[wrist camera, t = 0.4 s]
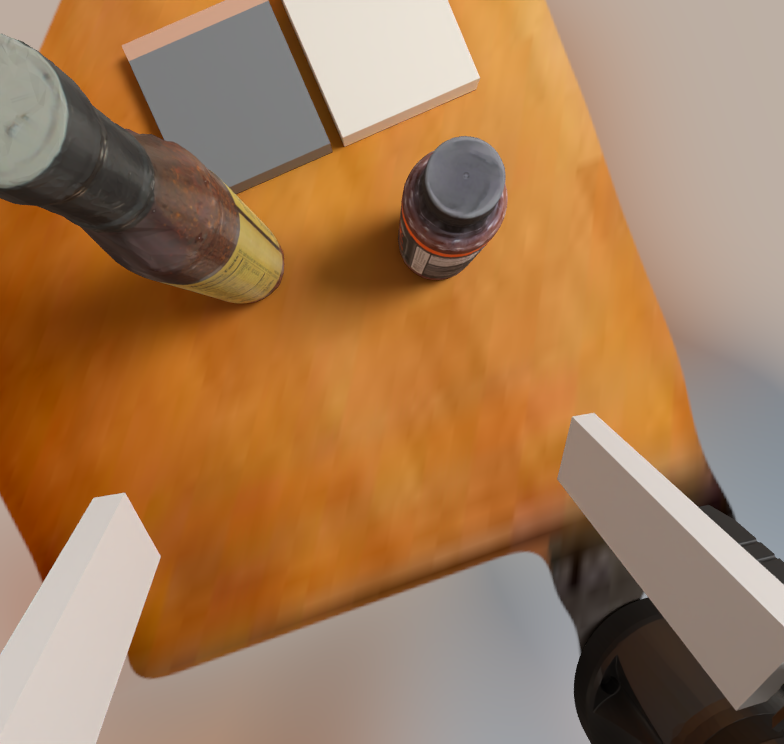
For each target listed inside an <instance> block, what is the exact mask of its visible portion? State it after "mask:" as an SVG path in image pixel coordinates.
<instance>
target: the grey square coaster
mask: <svg viewBox="0 0 784 744" xmlns="http://www.w3.org/2000/svg"><path fill="white" fill-rule="evenodd" d="M122 48H123V50H124V52H125V54H126V56H127V59H128V61H129V63H130V65H131V67H132V70H133V72H134V74H135V76H136V79H137V81H138V83H139V85H140V87H141V90H142V92H143V94H144V96H145V98H146V101H147V103H148V105H149V107H150V110H151V112H152V114H153V116H154V118H155V121H156V123H157V125H158V127H159V129H160V132H161V134H162V136H163V138H164V140H165V141H173V142H175V143H177V144H179V145H180V146H182V147H183V148H185V149H186V150H188V151H189V152H190V153H192V154H193V155H194V156H195V157H196V158H198V159H199V160H200V161H201V163H202V164H204V165H205V167H206V168H207V169H209V170H210V171H212V172H213V173H214V174H216V175H217V176H218V177H219V178H220V179H221V180H222V181H223V182H224V183H225V184H226V185H227V186H228V187H229V188H230V189H231V190H232V191H233V192H234V193H235V194H237V193H240V192H242V191H244V190H247V189H249V188H251V187H254V186H256V185H258V184H260V183H263V182H265V181H267V180H270V179H272V178H274V177H276V176H279V175H281V174H283V173H286V172H288V171H290V170H292V169H295V168H297V167H299V166H302V165H304V164H306V163H308V162H311V161H313V160H315V159H318V158H320V157H322V156H325V155H327V154H329V153H331V152H332V148H331V144H330V141H329V139H328V137H327V134H326V132H325V130H324V127H323V125H322V123H321V120H320V118H319V116H318V114H317V111H316V109H315V107H314V104H313V102H312V100H311V97H310V95H309V93H308V91H307V88H306V86H305V84H304V81H303V79H302V77H301V74H300V72H299V70H298V68H297V65H296V63H295V61H294V58H293V56H292V54H291V51H290V49H289V47H288V45H287V42H286V40H285V38H284V35H283V33H282V31H281V28H280V26H279V24H278V22H277V19H276V17H275V15H274V12H273V10H272V8H271V5H270V3H269V1H268V0H225V1H223V2H221V3H218V4H216V5H214V6H212V7H209V8H207V9H205V10H202V11H200V12H198V13H195V14H193V15H191V16H189V17H186V18H184V19H182V20H179V21H177V22H175V23H172V24H170V25H168V26H166V27H163V28H161V29H159V30H156V31H154V32H152V33H149V34H147V35H145V36H142V37H140V38H138V39H136V40H133V41H131V42H129V43H126V44H124V45H122Z"/></svg>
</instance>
